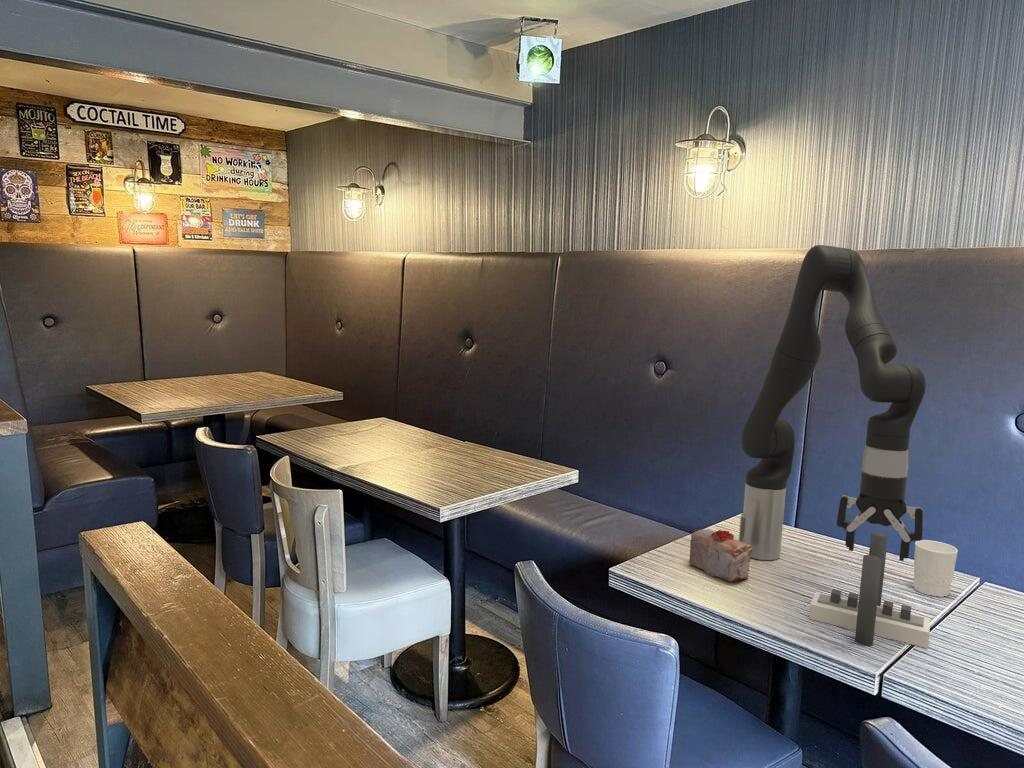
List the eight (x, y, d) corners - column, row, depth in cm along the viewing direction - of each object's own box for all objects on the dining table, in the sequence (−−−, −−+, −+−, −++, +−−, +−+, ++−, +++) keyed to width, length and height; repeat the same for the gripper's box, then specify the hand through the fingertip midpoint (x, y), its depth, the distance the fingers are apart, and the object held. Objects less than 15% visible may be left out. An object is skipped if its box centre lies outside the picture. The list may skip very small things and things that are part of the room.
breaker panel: (809, 618, 138) (811, 592, 138) (814, 605, 144) (817, 580, 143) (927, 648, 128) (930, 620, 127) (928, 633, 134) (931, 606, 133)
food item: (755, 579, 157) (759, 536, 155) (733, 587, 152) (736, 543, 151) (705, 559, 168) (708, 519, 166) (683, 566, 163) (686, 525, 162)
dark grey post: (853, 642, 129) (862, 558, 127) (855, 636, 132) (864, 553, 130) (872, 647, 128) (881, 562, 126) (873, 640, 130) (882, 557, 128)
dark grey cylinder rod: (862, 612, 142) (870, 535, 140) (863, 606, 144) (871, 531, 142) (879, 616, 140) (887, 538, 138) (880, 610, 143) (888, 534, 141)
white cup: (910, 593, 152) (915, 548, 151) (909, 580, 159) (914, 537, 158) (953, 601, 149) (959, 555, 147) (950, 588, 155) (956, 544, 154)
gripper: (840, 469, 133) (832, 552, 135) (927, 481, 125) (918, 569, 127) (844, 461, 139) (837, 541, 141) (928, 472, 132) (919, 556, 134)
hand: (876, 554), depth 134 cm, fingers open, 8 cm apart
